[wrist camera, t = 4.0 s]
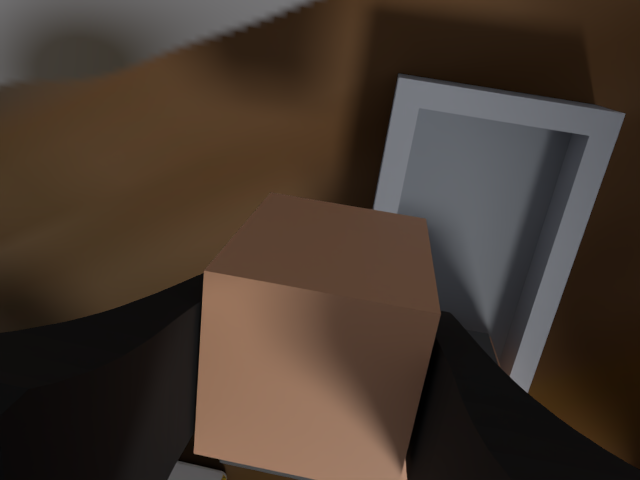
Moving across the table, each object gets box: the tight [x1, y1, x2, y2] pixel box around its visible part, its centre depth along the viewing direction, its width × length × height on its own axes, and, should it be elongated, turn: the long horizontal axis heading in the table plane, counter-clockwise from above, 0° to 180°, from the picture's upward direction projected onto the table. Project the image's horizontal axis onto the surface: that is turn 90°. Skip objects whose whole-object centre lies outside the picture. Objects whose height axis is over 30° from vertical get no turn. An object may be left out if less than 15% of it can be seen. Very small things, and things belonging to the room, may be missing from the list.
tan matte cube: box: [194, 193, 441, 480], centre depth 12 cm, size 5×4×5 cm
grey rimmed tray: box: [372, 73, 625, 480], centre depth 18 cm, size 14×7×6 cm, turn 172°
